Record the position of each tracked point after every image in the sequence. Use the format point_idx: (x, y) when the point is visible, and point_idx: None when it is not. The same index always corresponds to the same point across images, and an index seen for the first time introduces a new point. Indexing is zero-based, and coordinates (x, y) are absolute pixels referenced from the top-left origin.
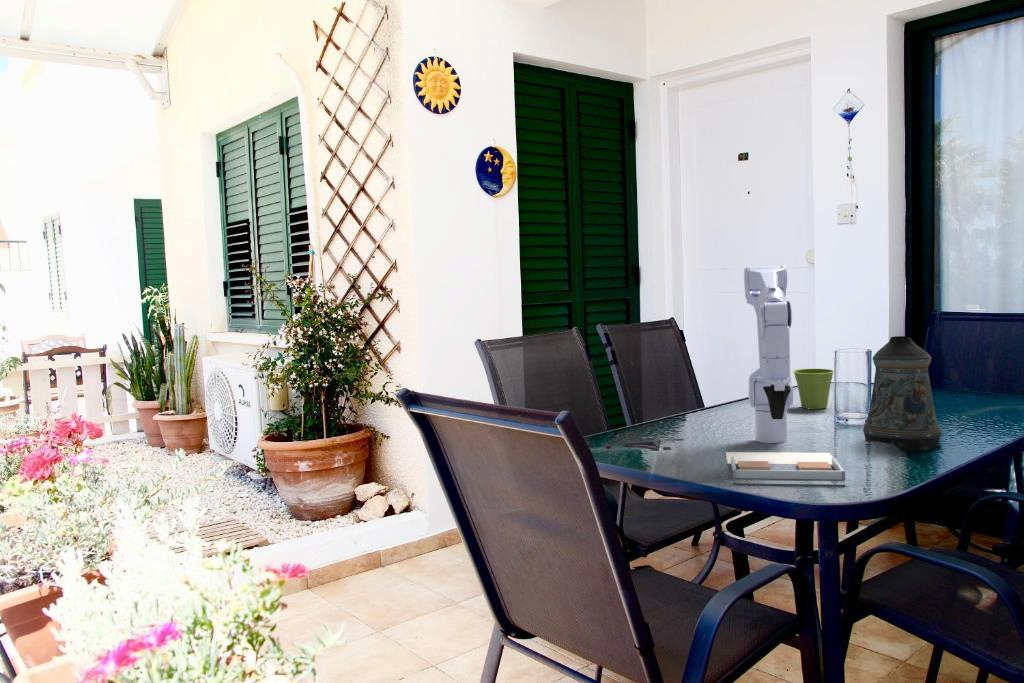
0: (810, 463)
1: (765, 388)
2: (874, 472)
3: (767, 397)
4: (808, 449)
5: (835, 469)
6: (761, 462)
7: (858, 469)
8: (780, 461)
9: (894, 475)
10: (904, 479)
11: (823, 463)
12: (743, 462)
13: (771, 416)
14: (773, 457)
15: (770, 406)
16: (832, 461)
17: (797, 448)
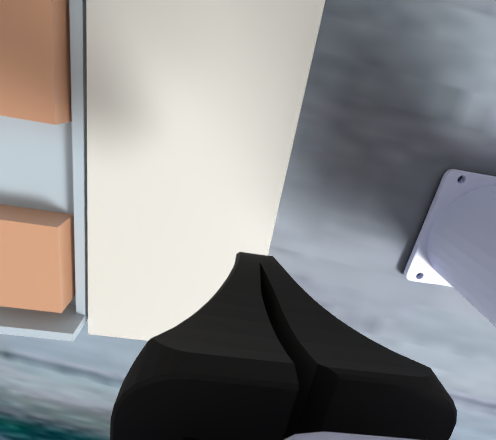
0: (34, 262)
1: (133, 385)
2: (94, 387)
3: (252, 319)
4: (386, 319)
5: (10, 311)
6: (33, 93)
7: (126, 366)
8: (127, 185)
9: (65, 412)
10: (27, 418)
11: (37, 297)
12: (24, 7)
13: (275, 259)
14: (196, 177)
15: (221, 286)
16: (61, 325)
17: (410, 296)
